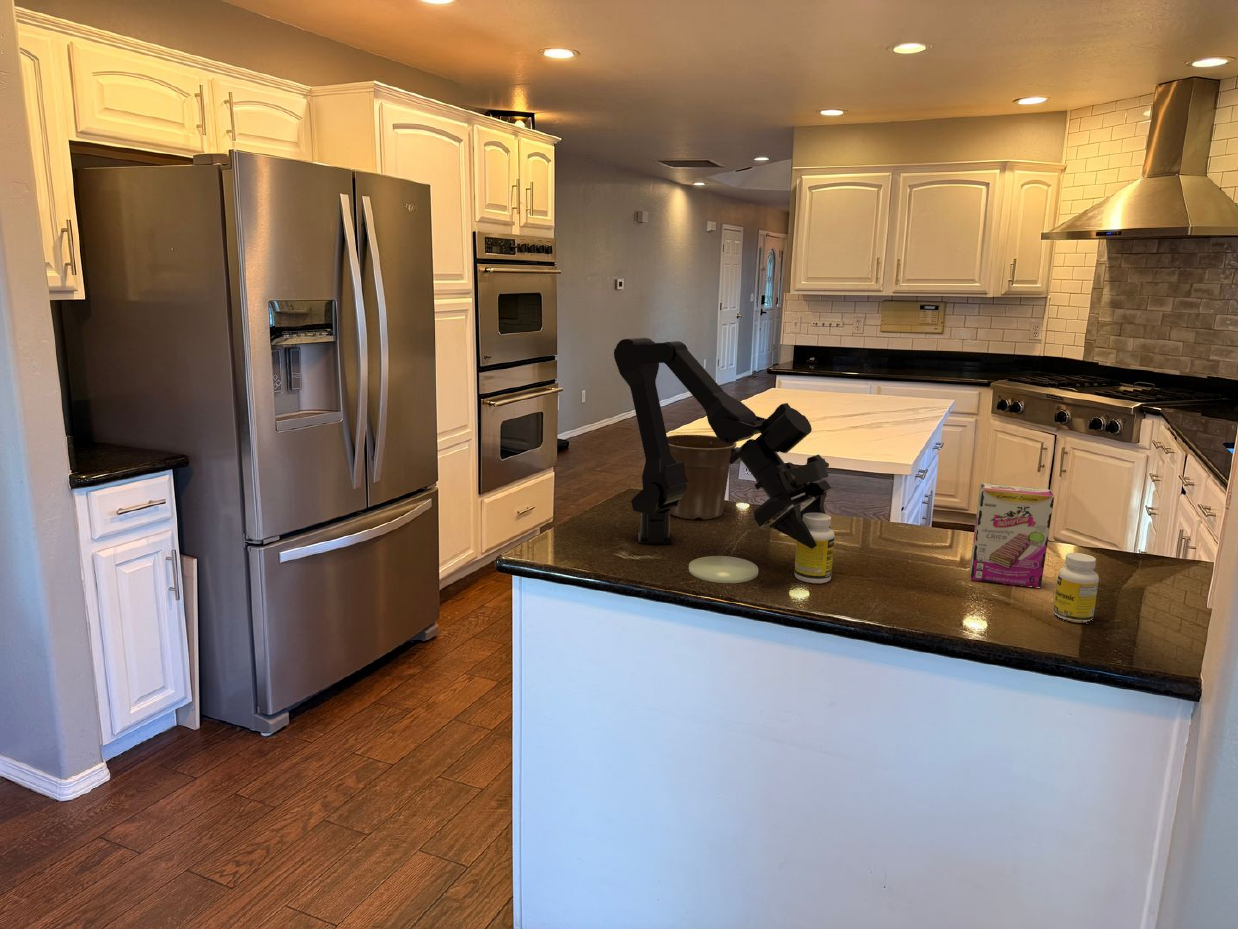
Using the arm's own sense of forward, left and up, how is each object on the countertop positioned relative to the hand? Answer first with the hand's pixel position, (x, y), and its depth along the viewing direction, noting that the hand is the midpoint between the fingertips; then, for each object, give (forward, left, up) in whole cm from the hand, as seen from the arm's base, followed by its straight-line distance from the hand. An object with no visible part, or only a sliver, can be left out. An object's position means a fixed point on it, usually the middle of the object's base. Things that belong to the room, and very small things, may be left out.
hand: (822, 542), depth 140 cm
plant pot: (-42, -17, -7) cm, 46 cm away
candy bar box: (-1, +32, -7) cm, 33 cm away
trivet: (-4, -16, -7) cm, 18 cm away
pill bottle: (-1, -1, -7) cm, 7 cm away
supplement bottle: (+15, +35, -7) cm, 39 cm away
